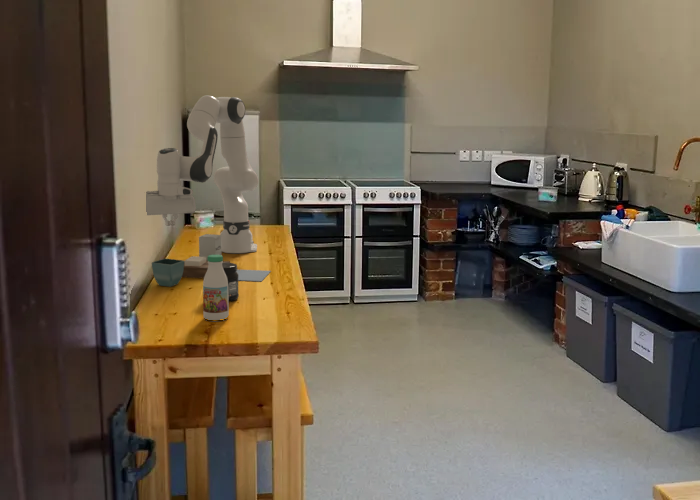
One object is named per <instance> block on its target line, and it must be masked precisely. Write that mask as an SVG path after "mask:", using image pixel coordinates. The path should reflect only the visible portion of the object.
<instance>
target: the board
mask: <svg viewBox="0 0 700 500" xmlns="http://www.w3.org/2000/svg"><path fill="white" fill-rule="evenodd" d="M183 261H184V269H183V275H182V277H181V278H189V279H190V278H192V279H194V278H195V279H204V277H205V274H206V272H207V269H208V265H209V264H208V260H206V262H205V263H204V264H203V265H201V266H185V260H183ZM223 262H227V263H231V261H229V260H227V261H226V260H223Z"/></svg>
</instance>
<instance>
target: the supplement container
mask: <svg viewBox="0 0 700 500" xmlns="http://www.w3.org/2000/svg"><path fill="white" fill-rule="evenodd" d="M222 267H223V270H224V272H225V274H226V276H227V280H228V299H229V301H231V302H234V301H237V299H238V298H239V281H238V277H239V275H238V273H237V272H236V271H237V269H238V265H237V263H234V262H230V263H227V262H223V263H222Z"/></svg>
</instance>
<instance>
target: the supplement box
mask: <svg viewBox="0 0 700 500" xmlns="http://www.w3.org/2000/svg"><path fill="white" fill-rule="evenodd" d="M209 255H222V251H221V235H220V234H212V233H211V234H209V233H206V234H203V235H200V236H198V257H206V260H208V256H209Z"/></svg>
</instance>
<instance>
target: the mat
mask: <svg viewBox="0 0 700 500" xmlns="http://www.w3.org/2000/svg"><path fill="white" fill-rule="evenodd" d="M236 272H237V273H238V275H239V277H238V282H255V283H256V282H258V283H259V282H260V283H261V282H263V281H264V280H265V279H266V278H267V276H268V275H269V274H271V272H272V270H261V269H260V270H259V269H238V268H237V271H236Z"/></svg>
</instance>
